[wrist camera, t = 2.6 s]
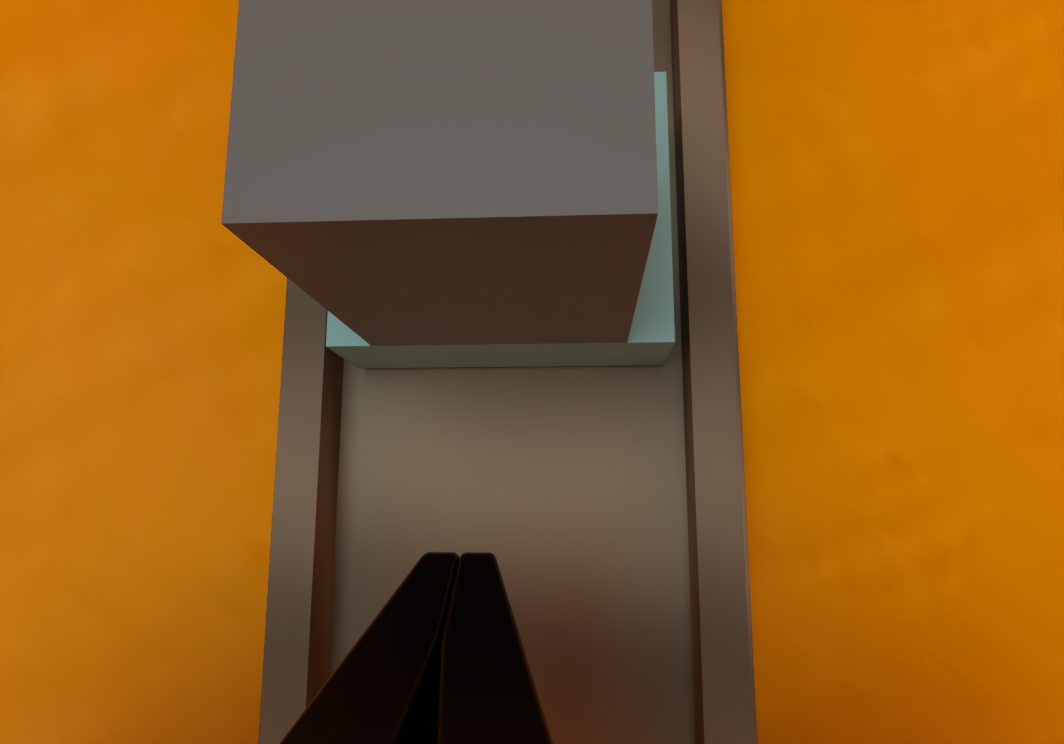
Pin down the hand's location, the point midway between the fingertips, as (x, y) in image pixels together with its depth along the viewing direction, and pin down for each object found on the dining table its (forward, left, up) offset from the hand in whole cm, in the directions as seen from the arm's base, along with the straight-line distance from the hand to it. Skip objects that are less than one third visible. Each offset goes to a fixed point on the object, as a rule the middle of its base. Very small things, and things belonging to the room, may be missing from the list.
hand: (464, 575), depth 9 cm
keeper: (+5, -4, -5) cm, 8 cm away
